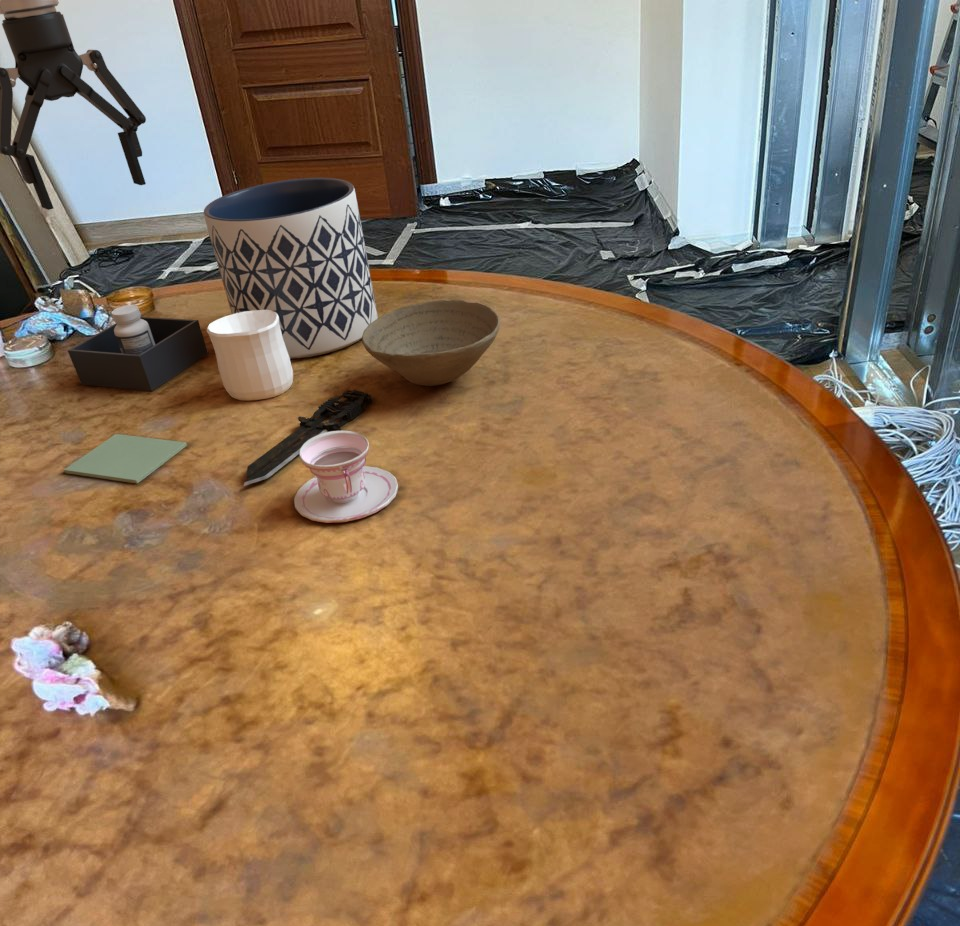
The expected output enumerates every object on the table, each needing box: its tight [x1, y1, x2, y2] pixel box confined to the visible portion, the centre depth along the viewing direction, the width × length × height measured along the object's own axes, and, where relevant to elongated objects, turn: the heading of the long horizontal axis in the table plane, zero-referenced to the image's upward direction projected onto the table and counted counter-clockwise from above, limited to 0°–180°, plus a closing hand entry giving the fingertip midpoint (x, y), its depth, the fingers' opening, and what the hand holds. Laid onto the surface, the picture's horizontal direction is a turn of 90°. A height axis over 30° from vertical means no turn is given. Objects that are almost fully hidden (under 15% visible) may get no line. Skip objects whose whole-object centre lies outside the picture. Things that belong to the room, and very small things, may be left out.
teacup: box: [293, 429, 399, 524], centre depth 99 cm, size 12×12×6 cm
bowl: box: [361, 299, 501, 387], centre depth 121 cm, size 18×18×8 cm
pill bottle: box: [110, 304, 156, 355], centre depth 135 cm, size 5×5×9 cm
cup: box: [206, 310, 294, 402], centre depth 125 cm, size 10×10×10 cm
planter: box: [203, 177, 379, 360], centre depth 136 cm, size 22×22×20 cm
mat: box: [63, 433, 188, 484], centre depth 114 cm, size 12×10×1 cm
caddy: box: [67, 316, 209, 392], centre depth 137 cm, size 14×14×5 cm
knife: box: [242, 389, 373, 487], centre depth 113 cm, size 25×6×1 cm, turn 147°
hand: (95, 195), depth 125 cm, fingers open, 13 cm apart
